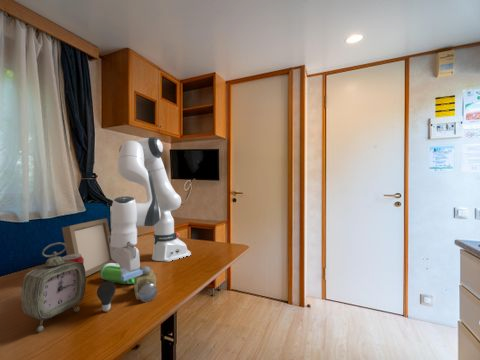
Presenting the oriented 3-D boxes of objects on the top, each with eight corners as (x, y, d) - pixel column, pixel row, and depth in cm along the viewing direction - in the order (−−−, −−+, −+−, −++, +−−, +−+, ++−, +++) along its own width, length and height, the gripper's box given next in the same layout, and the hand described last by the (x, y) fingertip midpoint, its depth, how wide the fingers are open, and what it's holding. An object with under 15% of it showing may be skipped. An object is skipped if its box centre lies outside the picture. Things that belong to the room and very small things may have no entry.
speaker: (142, 280, 101) (142, 264, 101) (130, 287, 94) (130, 270, 94) (112, 275, 106) (112, 260, 106) (98, 282, 100) (98, 265, 100)
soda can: (64, 300, 84) (64, 261, 84) (55, 295, 88) (55, 257, 88) (87, 291, 91) (87, 255, 91) (78, 287, 95) (78, 252, 95)
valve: (150, 284, 97) (150, 265, 97) (158, 299, 85) (157, 278, 85) (133, 288, 93) (133, 269, 93) (138, 304, 81) (138, 282, 81)
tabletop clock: (36, 337, 64) (35, 251, 64) (17, 330, 67) (17, 247, 68) (85, 310, 78) (85, 238, 78) (68, 305, 81) (68, 236, 81)
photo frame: (115, 264, 121) (115, 218, 121) (79, 281, 100) (79, 226, 100) (92, 262, 124) (92, 217, 124) (53, 279, 103) (53, 225, 103)
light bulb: (102, 306, 80) (102, 279, 80) (118, 306, 80) (118, 278, 80) (93, 316, 74) (93, 286, 74) (110, 315, 75) (110, 285, 75)
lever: (146, 270, 92) (146, 265, 92) (151, 272, 90) (151, 267, 90) (119, 279, 83) (119, 274, 83) (124, 282, 81) (124, 276, 81)
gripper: (144, 243, 80) (144, 282, 80) (123, 233, 94) (123, 266, 94) (125, 247, 75) (125, 288, 75) (106, 236, 89) (106, 270, 89)
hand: (124, 276), depth 85 cm, fingers closed
